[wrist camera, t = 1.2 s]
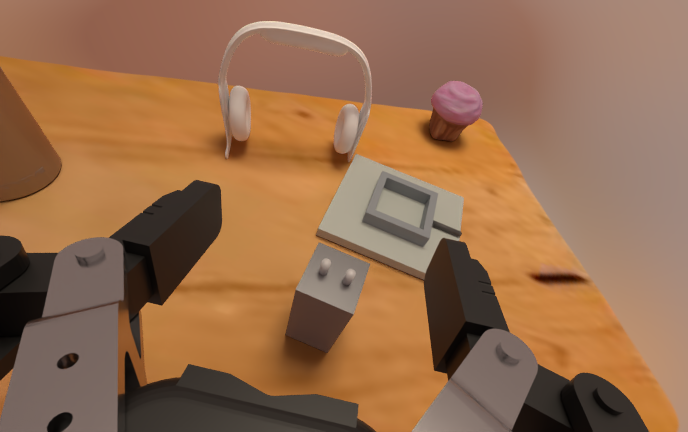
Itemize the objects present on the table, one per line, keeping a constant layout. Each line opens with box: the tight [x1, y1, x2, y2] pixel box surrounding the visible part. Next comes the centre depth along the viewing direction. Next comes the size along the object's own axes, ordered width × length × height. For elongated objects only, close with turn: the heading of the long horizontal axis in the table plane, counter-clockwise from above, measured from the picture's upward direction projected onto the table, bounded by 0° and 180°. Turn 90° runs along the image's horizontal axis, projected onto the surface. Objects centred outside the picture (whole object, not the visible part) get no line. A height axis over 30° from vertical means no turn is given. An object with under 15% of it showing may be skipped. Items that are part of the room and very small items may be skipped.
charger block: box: [285, 243, 370, 353], centre depth 28 cm, size 5×5×12 cm
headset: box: [218, 21, 372, 162], centre depth 41 cm, size 20×7×18 cm, turn 95°
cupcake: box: [430, 81, 483, 141], centre depth 56 cm, size 9×9×10 cm
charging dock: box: [316, 154, 464, 280], centre depth 43 cm, size 18×16×4 cm
